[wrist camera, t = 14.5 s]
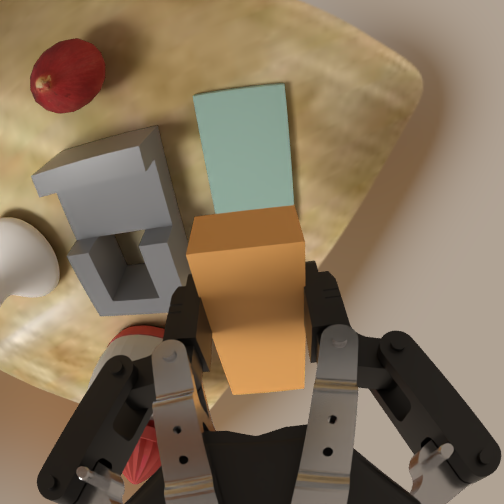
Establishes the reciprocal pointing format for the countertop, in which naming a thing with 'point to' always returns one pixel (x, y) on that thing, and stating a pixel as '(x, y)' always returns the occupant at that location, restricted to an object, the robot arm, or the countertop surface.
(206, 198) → the countertop surface
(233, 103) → the mat
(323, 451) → the robot arm
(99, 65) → the onion
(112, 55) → the countertop surface
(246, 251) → the plank
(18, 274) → the flower in vase
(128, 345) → the citrus juicer
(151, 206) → the kitting block
